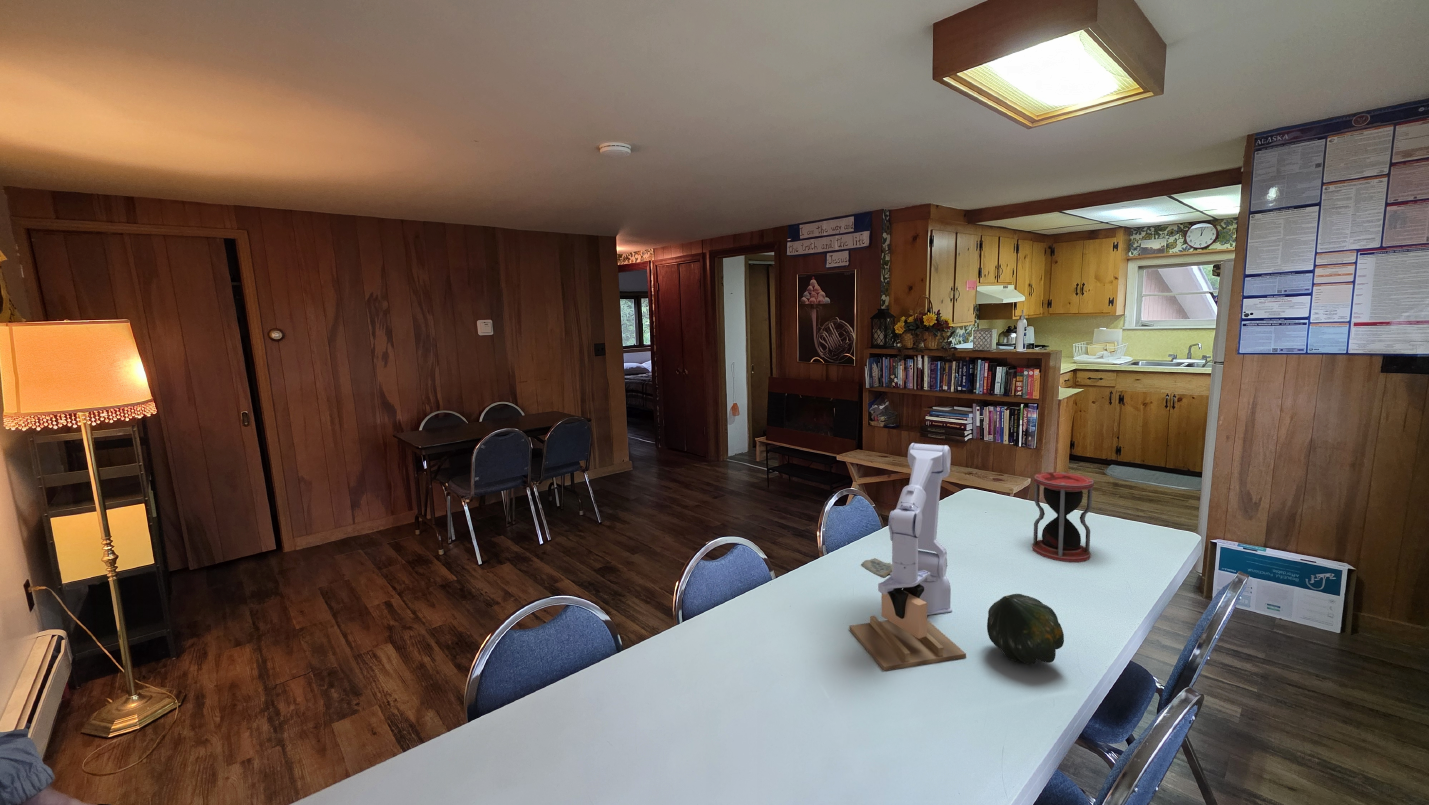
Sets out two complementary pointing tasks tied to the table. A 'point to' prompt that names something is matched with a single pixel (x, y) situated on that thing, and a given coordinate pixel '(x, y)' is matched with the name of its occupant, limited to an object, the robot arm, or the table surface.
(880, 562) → the ceramic fragment
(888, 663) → the ribbed wooden panel
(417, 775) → the table surface
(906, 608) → the clay block
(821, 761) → the table surface
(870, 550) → the table surface
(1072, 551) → the hourglass
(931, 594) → the robot arm
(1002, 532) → the table surface
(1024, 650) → the squash
